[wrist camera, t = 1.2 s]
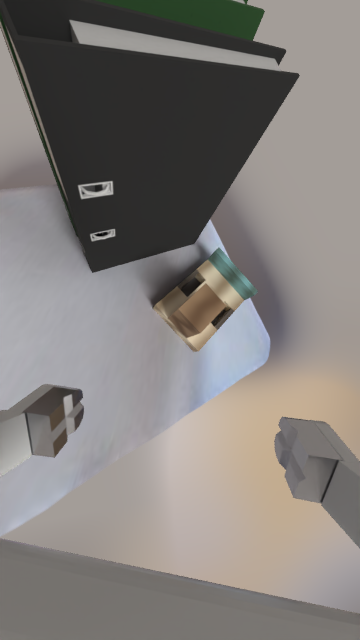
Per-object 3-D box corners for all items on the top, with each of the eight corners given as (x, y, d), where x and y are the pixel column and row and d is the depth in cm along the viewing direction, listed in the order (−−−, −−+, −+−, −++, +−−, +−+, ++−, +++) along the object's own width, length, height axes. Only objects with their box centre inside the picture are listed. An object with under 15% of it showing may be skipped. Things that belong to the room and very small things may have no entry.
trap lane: (153, 308, 43) (158, 299, 37) (206, 262, 51) (219, 247, 44) (193, 351, 44) (206, 350, 38) (240, 300, 51) (257, 291, 45)
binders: (174, 200, 52) (248, -19, 22) (196, 248, 51) (305, 86, 21) (69, 216, 42) (-59, -135, 12) (93, 275, 41) (18, 48, 11)
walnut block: (167, 318, 41) (178, 308, 33) (191, 296, 44) (205, 283, 36) (186, 338, 41) (200, 333, 34) (208, 314, 44) (226, 305, 37)
